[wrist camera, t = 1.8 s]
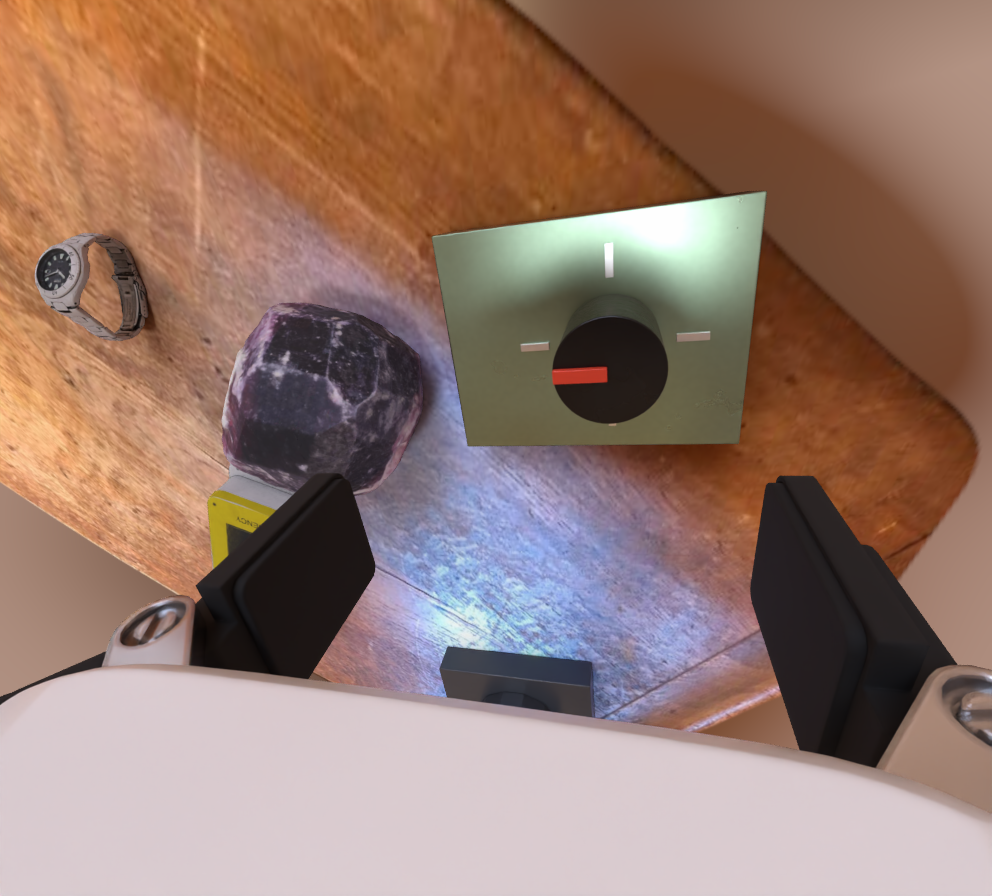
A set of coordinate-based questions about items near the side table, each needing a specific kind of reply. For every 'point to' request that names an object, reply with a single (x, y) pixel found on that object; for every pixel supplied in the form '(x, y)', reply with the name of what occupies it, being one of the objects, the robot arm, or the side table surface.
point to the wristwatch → (68, 274)
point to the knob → (610, 360)
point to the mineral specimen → (321, 398)
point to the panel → (591, 273)
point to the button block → (519, 681)
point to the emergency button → (240, 510)
